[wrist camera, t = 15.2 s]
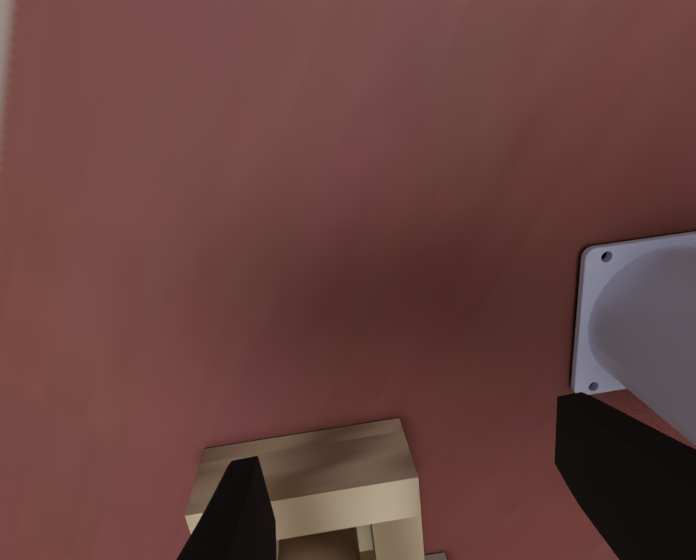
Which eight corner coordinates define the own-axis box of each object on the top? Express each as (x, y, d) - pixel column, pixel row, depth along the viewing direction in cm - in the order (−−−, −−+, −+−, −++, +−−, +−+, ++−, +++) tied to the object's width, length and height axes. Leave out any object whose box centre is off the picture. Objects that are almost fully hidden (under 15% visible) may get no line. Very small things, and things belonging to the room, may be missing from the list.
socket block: (399, 418, 23) (418, 477, 19) (411, 554, 26) (429, 626, 23) (204, 448, 22) (184, 515, 18) (243, 583, 26) (233, 662, 22)
